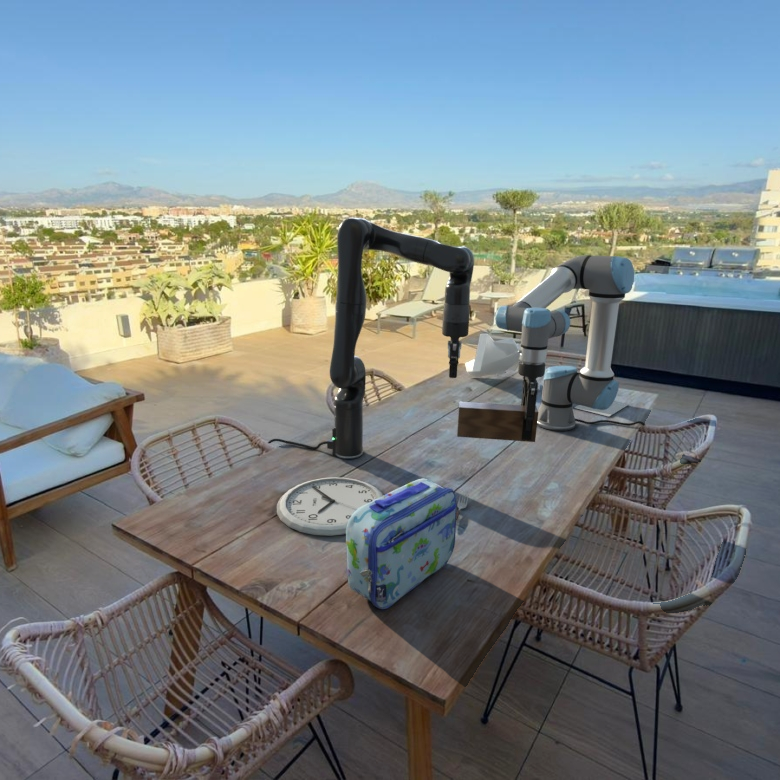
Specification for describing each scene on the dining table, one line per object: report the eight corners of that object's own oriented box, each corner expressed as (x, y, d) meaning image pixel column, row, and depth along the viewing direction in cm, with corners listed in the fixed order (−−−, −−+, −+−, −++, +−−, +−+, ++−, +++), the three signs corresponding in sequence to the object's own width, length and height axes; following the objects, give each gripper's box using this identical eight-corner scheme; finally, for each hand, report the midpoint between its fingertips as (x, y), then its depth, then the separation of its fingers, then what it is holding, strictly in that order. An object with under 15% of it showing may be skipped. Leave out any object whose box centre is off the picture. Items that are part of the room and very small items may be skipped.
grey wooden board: (608, 416, 214) (573, 407, 224) (608, 416, 214) (573, 408, 224) (628, 404, 229) (594, 396, 238) (628, 405, 229) (594, 397, 238)
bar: (532, 435, 162) (536, 406, 159) (535, 442, 157) (538, 412, 154) (457, 430, 165) (459, 401, 162) (457, 436, 159) (459, 407, 156)
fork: (445, 528, 132) (446, 521, 132) (459, 499, 147) (460, 493, 146) (455, 530, 132) (456, 523, 131) (468, 501, 146) (469, 494, 145)
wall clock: (392, 527, 129) (268, 531, 127) (391, 533, 130) (269, 537, 127) (383, 473, 158) (282, 475, 155) (383, 478, 158) (282, 480, 156)
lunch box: (375, 622, 100) (376, 527, 94) (339, 595, 108) (338, 505, 101) (459, 565, 118) (465, 481, 112) (424, 545, 125) (427, 465, 119)
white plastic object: (486, 418, 266) (465, 396, 241) (467, 346, 288) (447, 318, 263) (557, 395, 254) (543, 368, 229) (531, 321, 276) (517, 290, 251)
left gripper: (443, 314, 157) (440, 366, 161) (442, 322, 143) (439, 379, 148) (468, 315, 156) (465, 368, 161) (469, 323, 142) (466, 381, 147)
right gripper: (516, 353, 161) (510, 423, 168) (522, 369, 144) (515, 446, 151) (541, 354, 160) (533, 425, 168) (550, 370, 143) (542, 448, 150)
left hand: (452, 373), depth 154 cm, fingers open, 8 cm apart
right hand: (525, 435), depth 159 cm, fingers closed on bar, 5 cm apart
